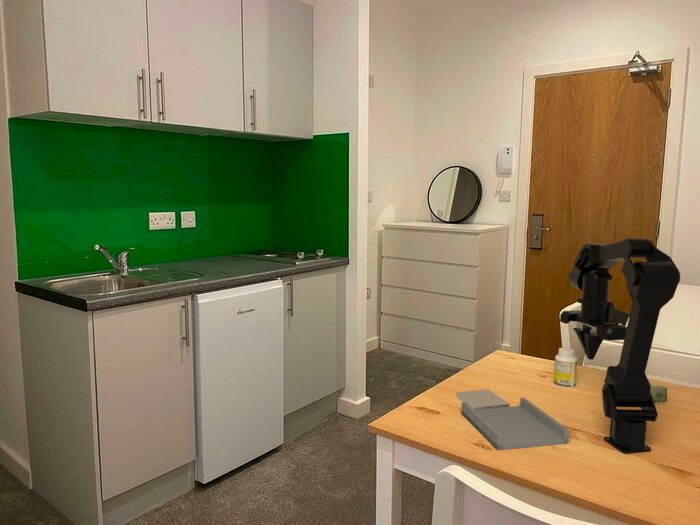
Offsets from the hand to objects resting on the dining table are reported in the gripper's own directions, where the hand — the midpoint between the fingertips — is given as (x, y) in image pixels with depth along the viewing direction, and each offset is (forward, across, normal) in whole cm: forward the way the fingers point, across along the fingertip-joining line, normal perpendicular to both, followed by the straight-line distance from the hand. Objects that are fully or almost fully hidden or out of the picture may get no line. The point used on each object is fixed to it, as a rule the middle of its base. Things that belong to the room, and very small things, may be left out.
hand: (590, 359), depth 130 cm
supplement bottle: (+12, +14, -3) cm, 19 cm away
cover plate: (+12, +6, +25) cm, 28 cm away
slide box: (+12, -8, +24) cm, 28 cm away
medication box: (+12, 0, -15) cm, 20 cm away
